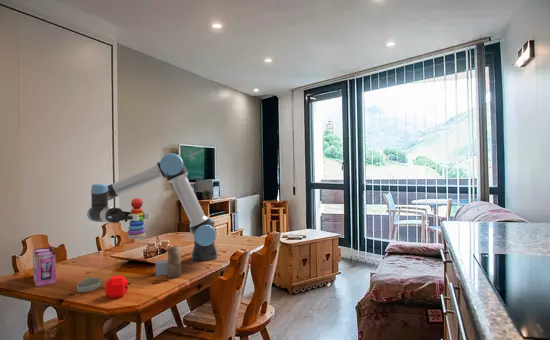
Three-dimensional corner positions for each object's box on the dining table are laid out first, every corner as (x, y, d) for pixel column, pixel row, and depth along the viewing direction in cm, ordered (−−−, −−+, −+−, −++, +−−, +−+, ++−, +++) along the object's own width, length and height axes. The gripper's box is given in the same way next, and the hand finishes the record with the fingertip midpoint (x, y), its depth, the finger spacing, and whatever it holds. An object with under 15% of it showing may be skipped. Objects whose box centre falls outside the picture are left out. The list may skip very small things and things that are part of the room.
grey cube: (168, 271, 167) (168, 259, 167) (168, 274, 161) (168, 262, 161) (156, 272, 165) (156, 260, 165) (155, 276, 159) (155, 263, 159)
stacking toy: (139, 239, 150) (138, 199, 149) (123, 239, 151) (122, 199, 151) (149, 236, 157) (148, 197, 157) (134, 235, 159) (133, 197, 159)
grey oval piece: (98, 285, 147) (98, 274, 147) (102, 288, 143) (102, 277, 143) (75, 290, 141) (75, 279, 141) (79, 294, 136) (79, 282, 136)
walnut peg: (180, 273, 162) (180, 245, 162) (181, 277, 156) (180, 248, 156) (168, 275, 160) (167, 246, 160) (168, 278, 154) (167, 249, 155)
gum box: (56, 283, 150) (56, 254, 151) (35, 287, 145) (35, 257, 145) (51, 272, 169) (51, 246, 169) (32, 275, 164) (32, 248, 164)
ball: (128, 297, 132) (128, 278, 132) (106, 301, 128) (105, 281, 128) (126, 291, 139) (126, 273, 139) (105, 294, 135) (105, 276, 135)
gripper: (128, 220, 171) (159, 222, 160) (94, 225, 154) (126, 228, 144) (128, 205, 171) (159, 207, 161) (93, 209, 154) (126, 211, 144)
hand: (144, 217), depth 152 cm, fingers closed on stacking toy, 6 cm apart
